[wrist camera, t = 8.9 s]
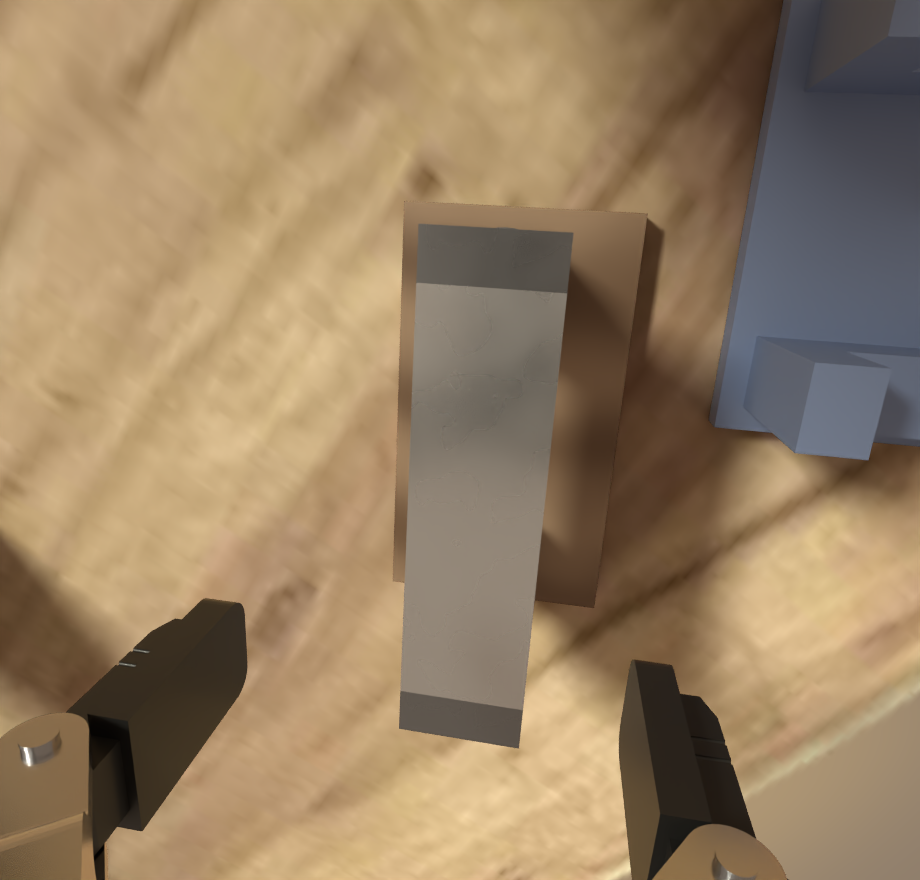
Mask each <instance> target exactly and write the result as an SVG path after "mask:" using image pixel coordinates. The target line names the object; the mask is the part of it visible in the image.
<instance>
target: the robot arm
mask: <svg viewBox="0 0 920 880" xmlns="http://www.w3.org/2000/svg"><path fill="white" fill-rule="evenodd" d="M246 674H247V648H246V630H245V613H244V608H243V606H242V604H240V603H236V602H229V601H222V600H215V599H208V598H206V599H203V600H201V601H200V602H199V603H198V604H197V605H196V606H195V607H194V608H193V609H192V610H191V611H190V612H189V613H188V614H187V615H186V616H185V617H184V618H183V619H182V620H181V619H174V620H172V621H170V622H168V623H166V624H164V625H162V626H161V627H159V628H157V629H155V630H153V631H151V632H150V633H149V634H148V635H147V636H146V637H145V638H144V639H143V640H142V641H141V642H139V643H138V644H137V645H136V646H135V647H134V649H133V652H131V651H130V652H129V653H128V654H127V655H126V656H125V657H124V658H123V659H122V660H121V661H119V665H115V666H114V667H113V668H112V669H111V670H110V671H109V672H108V673H107V674H106V675H105V676H104V677H103V678H102V679H101V680H99V681H98V682H97V683H96V684H95V685H94V686H93V687H92V688H91V689H90V690H89V691H88V692H87V693H86V694H85V695H84V696H83V697H82V698H81V699H79V700H78V701H77V702H76V703H75V704H74V705H73V706H72V707H71V708H70V709H69V710H68V711H67V712H66V713H52V714H47V715H42V716H39V717H36V718H33V719H30V720H28V721H26V722H24V723H22V724H20V725H18V726H16V727H14V728H13V729H11V730H10V731H8V732H7V733H6V734H4V735H3V736H2V737H1V738H0V880H108V852H107V845H106V841H107V839H108V838H109V837H110V835H111V834H112V833H113V831H114V830H115V829H116V827H122V828H127V829H132V830H137V831H143V830H144V828H145V827H146V825H147V824H148V823H149V821H150V820H151V818H152V817H153V816H154V814H155V813H156V811H157V810H158V809H159V807H160V806H161V804H162V803H163V801H164V800H165V799H166V797H167V796H168V794H169V793H170V792H171V790H172V789H173V787H174V786H175V785H176V783H177V782H178V780H179V779H180V778H181V776H182V775H183V773H184V772H185V771H186V769H187V768H188V766H189V765H190V764H191V762H192V761H193V759H194V758H195V757H196V755H197V754H198V752H199V751H200V750H201V748H202V747H203V745H204V744H205V743H206V741H207V740H208V738H209V737H210V736H211V734H212V733H213V731H214V730H215V729H216V727H217V726H218V724H219V723H220V722H221V720H222V719H223V717H224V716H225V715H226V713H227V712H228V710H229V709H230V708H231V706H232V705H233V703H234V702H235V700H236V699H237V698H238V696H239V694H240V693H241V690H242V688H243V685H244V682H245V679H246ZM619 761H620V770H621V780H622V789H623V799H624V808H625V818H626V827H627V837H628V846H629V856H630V865H631V875H632V880H788V879H787V878H786V874H785V872H784V870H783V868H782V866H781V865H780V863H779V862H778V860H777V859H776V857H775V856H774V855H773V854H772V853H771V851H770V850H769V849H768V848H766V847H765V846H764V845H763V844H762V843H761V842H759V841H758V840H757V839H756V837H755V834H754V831H753V827H752V824H751V821H750V818H749V815H748V812H747V809H746V805H745V802H744V799H743V796H742V793H741V790H740V787H739V783H738V780H737V777H736V774H735V771H734V768H733V765H731V758H730V755H729V752H728V749H727V746H726V745H725V740H724V736H723V733H722V730H721V727H720V724H719V721H718V718H717V717H716V716H715V714H714V713H713V712H712V711H711V710H710V708H709V707H708V706H707V705H706V704H705V702H704V701H703V700H702V699H701V698H700V697H698V696H691V695H684V694H680V693H679V689H678V685H677V681H676V677H675V673H674V669H673V667H672V665H668V664H660V663H653V662H646V661H639V660H632V661H631V664H630V669H629V675H628V681H627V687H626V693H625V699H624V705H623V711H622V717H621V724H620V734H619Z"/></svg>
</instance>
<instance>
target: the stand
mask: <svg viewBox="0 0 920 880" xmlns="http://www.w3.org/2000/svg"><path fill="white" fill-rule="evenodd" d="M647 215H648V214H645V213H626V212H607V211H588V210H569V209H550V208H530V207H511V206H492V205H473V204H454V203H435V202H415V201H404V226H403V259H402V292H401V326H400V359H399V392H398V425H397V458H396V491H395V524H394V557H393V581H396V582H403V583H405V562H406V536H407V510H408V484H409V458H410V432H411V406H412V380H413V354H414V328H415V302H416V276H417V250H418V224H435V225H452V226H469V227H486V228H503V229H520V230H537V231H554V232H571V233H574V234H573V243H572V253H571V262H570V272H569V281H568V290H567V300H566V309H565V319H564V328H563V337H562V347H561V356H560V366H559V375H558V384H557V394H556V403H555V413H554V422H553V431H552V441H551V450H550V459H549V469H548V478H547V488H546V497H545V506H544V516H543V525H542V535H541V544H540V553H539V563H538V572H537V582H536V591H535V600H538V601H545V602H553V603H560V604H568V605H575V606H583V607H590V608H594V605H595V598H596V590H597V583H598V575H599V568H600V561H601V553H602V546H603V539H604V531H605V524H606V517H607V509H608V502H609V495H610V487H611V480H612V472H613V465H614V458H615V450H616V443H617V436H618V428H619V421H620V414H621V406H622V399H623V391H624V384H625V377H626V369H627V362H628V355H629V347H630V340H631V333H632V325H633V318H634V311H635V303H636V296H637V288H638V281H639V274H640V266H641V259H642V252H643V244H644V237H645V230H646V222H647Z"/></svg>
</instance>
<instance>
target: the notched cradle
mask: <svg viewBox="0 0 920 880" xmlns="http://www.w3.org/2000/svg"><path fill="white" fill-rule="evenodd" d="M709 421H710V423H711V424H712V425H713V426H714V427H717V428H728V429H738V430H749V431H759V432H770V433H773V434H774V435H775V436H776V437H777V438H779V439H780V440H781V441H782V442H783V443H784V444H785V445H786V446H788V447H789V448H790V449H791V450H792V451H793V452H794V453H799V454H810V455H820V456H830V457H840V458H850V459H861V460H869V456H870V452H871V448H872V444H873V442H876V443H887V444H897V445H908V446H918V447H920V0H783V6H782V11H781V17H780V22H779V28H778V34H777V39H776V45H775V50H774V56H773V62H772V67H771V73H770V78H769V84H768V90H767V95H766V101H765V107H764V112H763V118H762V123H761V129H760V135H759V140H758V146H757V151H756V157H755V163H754V168H753V174H752V179H751V185H750V191H749V196H748V202H747V208H746V213H745V219H744V224H743V230H742V236H741V241H740V247H739V252H738V258H737V264H736V269H735V275H734V280H733V286H732V292H731V297H730V303H729V308H728V314H727V320H726V325H725V331H724V337H723V342H722V348H721V353H720V359H719V365H718V370H717V376H716V381H715V387H714V393H713V398H712V404H711V409H710V415H709Z"/></svg>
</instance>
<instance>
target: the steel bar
mask: <svg viewBox="0 0 920 880" xmlns="http://www.w3.org/2000/svg"><path fill="white" fill-rule="evenodd" d="M573 234H574V233H571V232H554V231H537V230H520V229H503V228H486V227H469V226H452V225H435V224H418V250H417V276H416V302H415V328H414V354H413V380H412V406H411V432H410V458H409V484H408V510H407V536H406V562H405V588H404V614H403V640H402V666H401V692H400V718H399V729H405V730H411V731H417V732H423V733H429V734H435V735H441V736H447V737H453V738H459V739H465V740H471V741H477V742H483V743H489V744H495V745H501V746H507V747H513V748H519V741H520V732H521V722H522V713H523V704H524V694H525V685H526V676H527V666H528V657H529V647H530V638H531V629H532V619H533V610H534V600H535V591H536V582H537V572H538V563H539V553H540V544H541V535H542V525H543V516H544V506H545V497H546V488H547V478H548V469H549V459H550V450H551V441H552V431H553V422H554V413H555V403H556V394H557V384H558V375H559V366H560V356H561V347H562V337H563V328H564V319H565V309H566V300H567V290H568V281H569V272H570V262H571V253H572V243H573Z"/></svg>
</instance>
